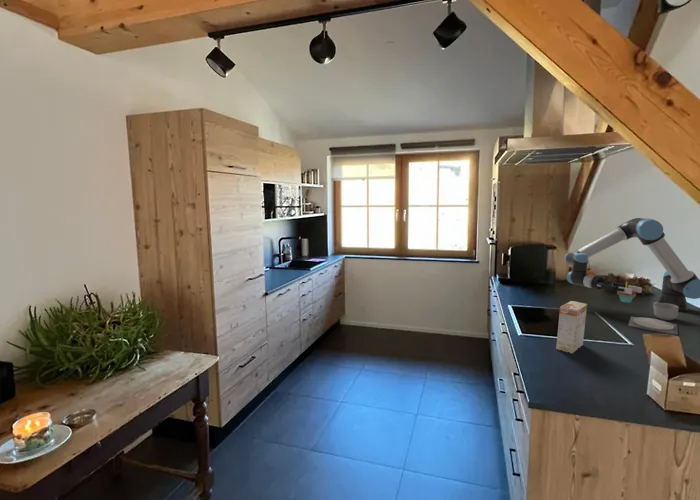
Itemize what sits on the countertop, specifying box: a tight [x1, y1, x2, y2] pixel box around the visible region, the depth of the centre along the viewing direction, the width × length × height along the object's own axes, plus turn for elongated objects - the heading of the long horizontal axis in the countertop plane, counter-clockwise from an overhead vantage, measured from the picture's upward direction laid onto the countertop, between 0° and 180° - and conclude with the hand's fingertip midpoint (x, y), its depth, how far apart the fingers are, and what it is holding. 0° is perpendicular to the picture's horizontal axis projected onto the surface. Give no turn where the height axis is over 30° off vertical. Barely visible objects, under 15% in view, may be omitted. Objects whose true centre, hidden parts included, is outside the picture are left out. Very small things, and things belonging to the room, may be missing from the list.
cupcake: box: [616, 280, 637, 304], centre depth 210 cm, size 9×8×12 cm
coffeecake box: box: [555, 300, 588, 354], centre depth 170 cm, size 15×7×20 cm, turn 133°
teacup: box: [652, 301, 679, 321], centre depth 217 cm, size 14×11×8 cm
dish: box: [627, 316, 679, 336], centre depth 203 cm, size 20×20×2 cm
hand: (636, 291), depth 205 cm, fingers closed on cupcake, 8 cm apart
